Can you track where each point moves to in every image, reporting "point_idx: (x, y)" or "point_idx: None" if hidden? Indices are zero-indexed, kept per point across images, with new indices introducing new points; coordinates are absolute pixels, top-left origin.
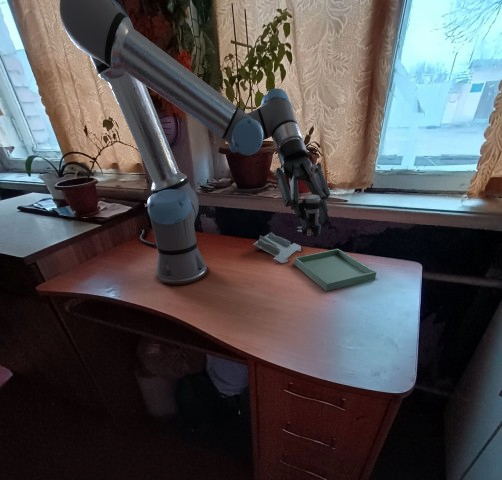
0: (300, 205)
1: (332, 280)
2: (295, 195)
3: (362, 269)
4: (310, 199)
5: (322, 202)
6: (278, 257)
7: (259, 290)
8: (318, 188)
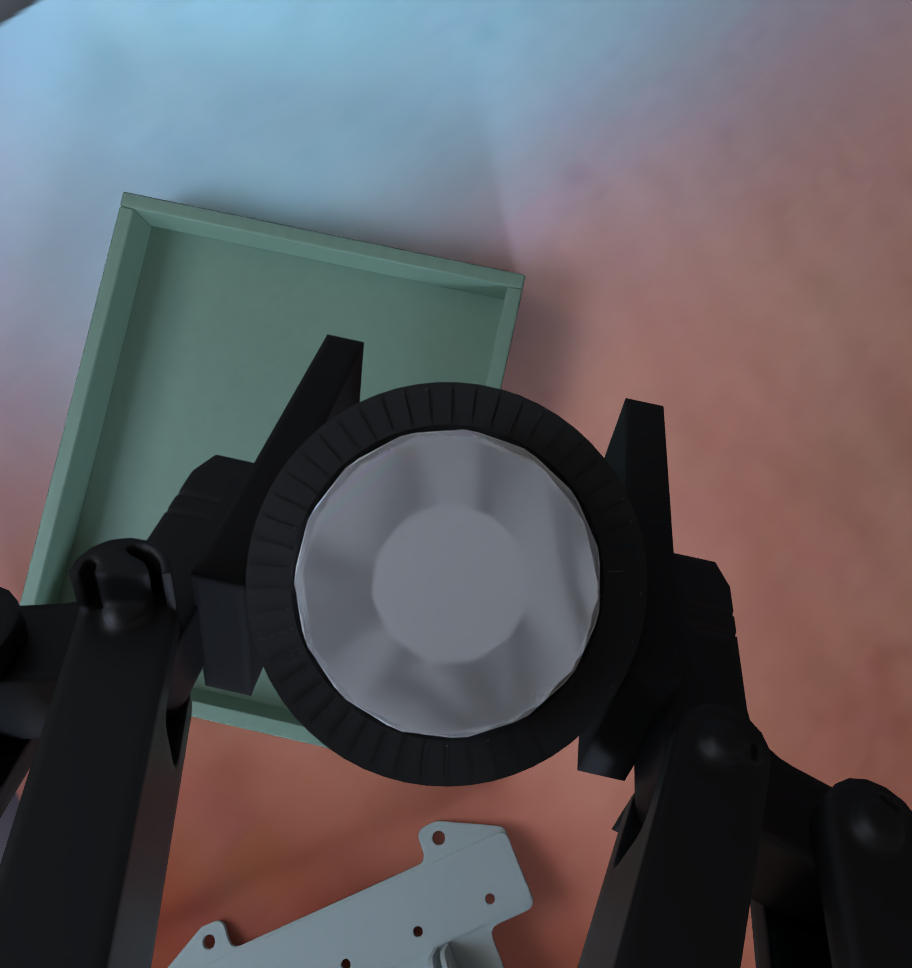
0: (676, 645)
1: (398, 357)
2: (727, 864)
3: (120, 331)
4: (573, 511)
5: (348, 414)
6: (481, 900)
7: (877, 577)
8: (72, 799)
